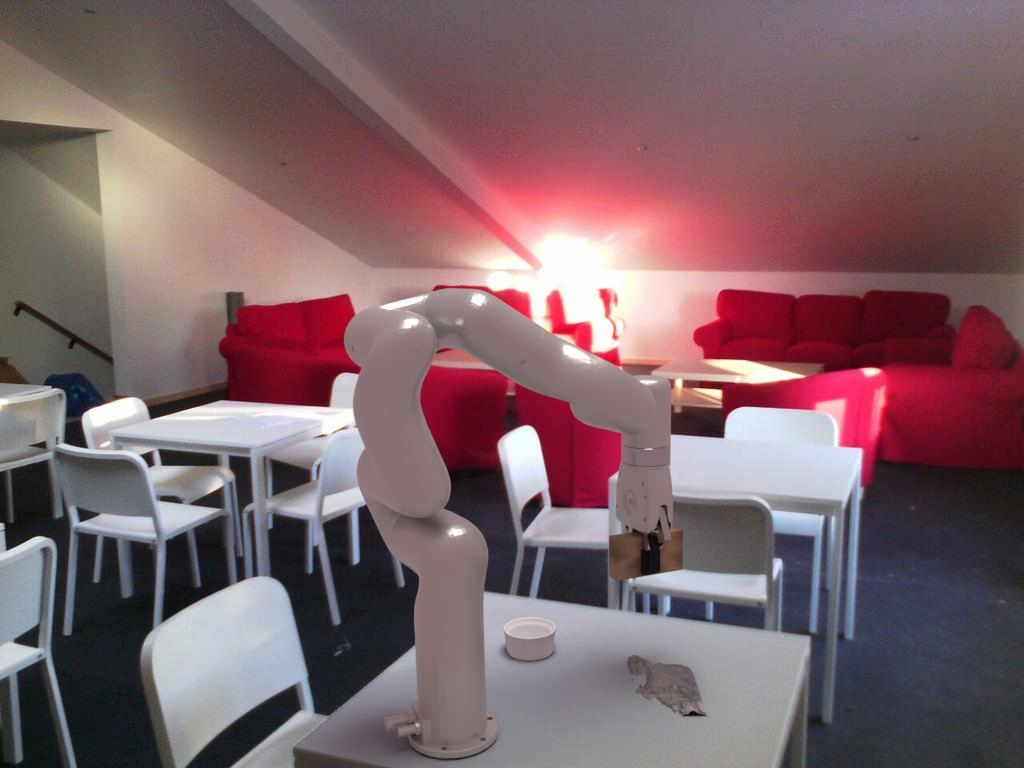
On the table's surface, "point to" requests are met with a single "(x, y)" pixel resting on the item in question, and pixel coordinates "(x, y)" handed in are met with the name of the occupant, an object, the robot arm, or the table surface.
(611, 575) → the brown wooden block
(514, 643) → the ramekin
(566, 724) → the table surface
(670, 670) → the stone slab
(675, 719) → the table surface
